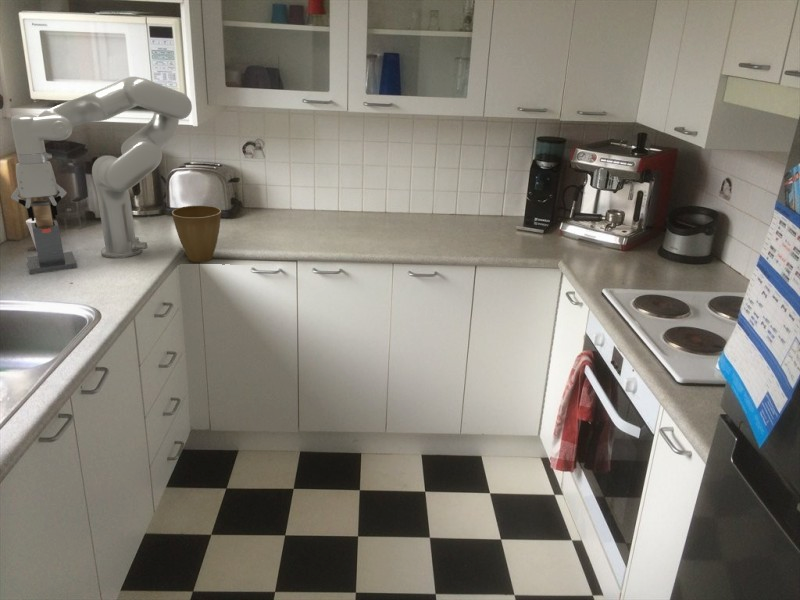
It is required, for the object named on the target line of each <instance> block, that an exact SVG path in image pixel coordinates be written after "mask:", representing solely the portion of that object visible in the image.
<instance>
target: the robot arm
mask: <svg viewBox="0 0 800 600" xmlns="http://www.w3.org/2000/svg"><path fill="white" fill-rule="evenodd" d="M136 107H141V108H143V109H145V110H149V111H152V112H153V115H152V118H151V120H150V121H148V122H147V124H145V125H144V126H143V127H142V128H141V129H139V130H138V131H136V132H135V133H134V134H133V135H131V136H130V137H128V138H127V139H126V140H125V141H124V142H123V144H122V145H121V148H120V151H121V155H120V156H118V157H116V156H113V155H101V156H99V157H98V158H97V159H96V160H95V161H94V162H93V164H92V167H91V175H92V181H93V183H94V188H95V191H96V196H97V202H98V207H99V215H100V220H101V228H102V234H103V240H104V247H103V248H102V249H101V250H100V254H101V255H102V256H103V257H106V258H111V259H118V258H119V259H120V258H121V259H122V258H129V257H132V256H136V255H138V254H140V253H141V252H142V251H143V250H147V249H148V243H147V242H146V241H140V240H139V238H140V237H136V233H135V232H136V231H135V224H134V220H133V219H134V218H133V211H132V210H133V209H132V203H131V196H130V191H129V190H131V188H134V186H136V185H137V184H139V183H140V182H141V181H142V180H144V179H145V178H146V177H147V176H149V175H150V174H151V173H152V172H153V171H155V169H157V168H158V166H159V165H161V162H162V158H163V152H162V149H164V147H166V145H168V144H169V143H170V142H171V141H172V140H173V139H174V138H175V136H176V134H177V132H178V129H179V123H180V121H179V120H183V119H184V120H185V119H186V118H188V116H190V115H191V113H192V109H193V105H192V101H191V99H190V98H189V96H187V94H186V93H183V92H181V91H178V90H176V89H173V88H170V87H168V86H165V85H162V84H160V83H158V82H154V81H152V80H150V79H148V78H143V77H139V76H128V77H126V78H123V79H121V80H119V81H116V82H113V83H112V84H109V85H107V86H105V87H103V88H100V89H97V90H95V91H92V92H91V93H88V94H84V95H82V96H79V97H76V98H73V99H70V100H68V101H65V102H62V103H60V104H57V105H56V106H53V107H51V108H49V109H46V110H44V111H43V112H41V113H39V114H38V116H37V115H34V114H17V115H14V116H12V117H11V118H10V126H11V130H12V136H13V141H14V147H15V151H16V157H17V161H18V163H16V164H15V175H16V176H15V177H16V181H17V182H16V183H17V187H16V188H15V190H14V191H13V192H12V194H11V196H10V199H12V200H13V201H15V202H17V203H18V204H21V205H22V206H23V207H25V208H26V211H27V216H28V219H32V221H34V220H35V219H34V218H35V214H34V209H33V205H31V203H32V199H38V198H48V200H50V201H49V202H50V209H51V215H52V219H54V220H56V219H57V217H56V216H58V209H57V205H58V203H59V202H60V201H61V200H62V199H63V198H64V197H65V196H66V195H67V193H68V192H67V191H66V190H65V189H64V188H63V187H62V186H60V185H59V184H58V183H57V180H56V176H55V172H54V169H53V168H54V167H53V166H52V163H51V161H49V160H50V159H53V155H52V153H48V152H47V151H46V147H45V141H57V142H59V141H64V140H67V139H68V138H69V137H70V136H72V132H73V128H74V127H76V126H80V125H83V124H86V123H92V122H102V121H107V120H109V119H111V118H114V117H116V116H117V115H120V114H122V113H125V112H126V111H128V110H131V109H133V108H136ZM58 192H59V193H58ZM19 196H20V197H19Z"/></svg>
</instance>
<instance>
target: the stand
mask: <svg viewBox="0 0 800 600" xmlns="http://www.w3.org/2000/svg"><path fill="white" fill-rule="evenodd" d="M31 224H32V229H33V235H34V240H35V245H36V248H35V249H36V254H37V255H31V256H27V257H26V258H27V266H28V271H29V274H30V275H35V274H41V273H42V274H43V273H48V272H55V271H56V272H57V271H63V270H70V269H77V268H78V263H77V260H76V257H75V255H74V252H73V251H65V252H64V249H63V243H62V242H63V241H62V237H61V233H60V232H61V231H60V226H59V224H58V220H56V219H54V220H53V226H45V227H37V225H36V222H35V223H31ZM35 245H34V246H35Z"/></svg>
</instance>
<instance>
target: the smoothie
mask: <svg viewBox="0 0 800 600" xmlns="http://www.w3.org/2000/svg"><path fill="white" fill-rule="evenodd" d="M34 219H35V217H34ZM35 222H36V220H34V221H32V218H28V219H27V220H25V224H26V226H27V228H28V230H29V232H30V236H31V239H32V242H33V244H34V247H35V248H34V249H36V245H35V240H34V235H33V229H32V224H31V223H35Z"/></svg>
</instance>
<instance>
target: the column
mask: <svg viewBox="0 0 800 600" xmlns="http://www.w3.org/2000/svg"><path fill="white" fill-rule="evenodd" d="M49 200H50V199H40V200H31V203H32V209H33V214H34V218H35V220H36V225H37V227H45V226H53V221H54V220H53V216H52V211H51V206H50V205H51V203H50V201H49Z"/></svg>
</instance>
